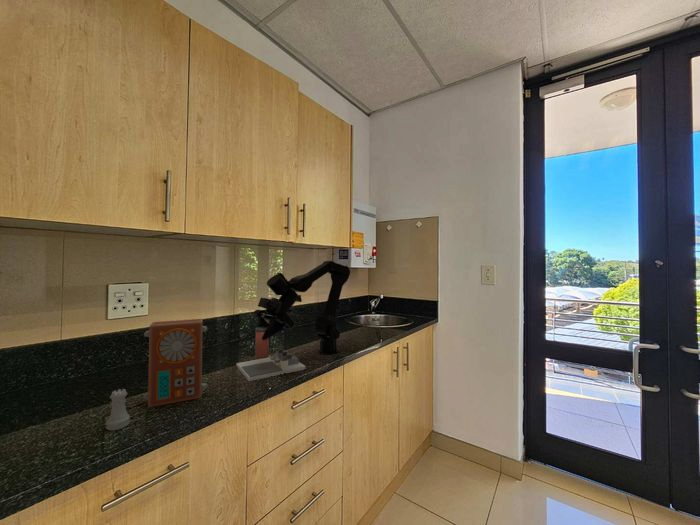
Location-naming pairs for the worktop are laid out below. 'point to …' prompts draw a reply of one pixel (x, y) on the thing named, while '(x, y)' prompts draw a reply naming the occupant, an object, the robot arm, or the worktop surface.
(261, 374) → the breaker board
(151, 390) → the control panel
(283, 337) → the worktop surface
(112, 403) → the rook chess piece
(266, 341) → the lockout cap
